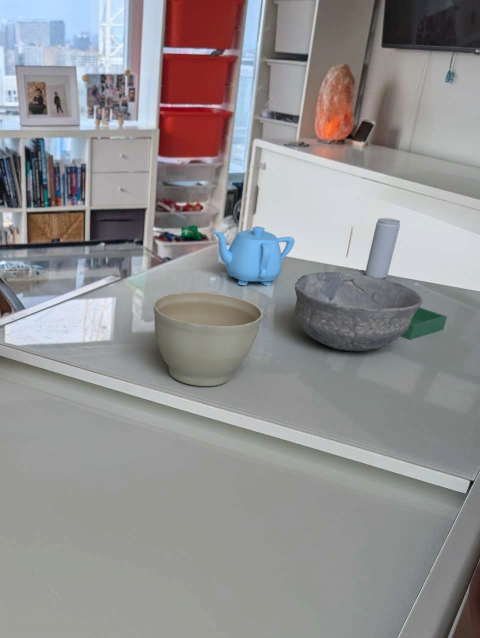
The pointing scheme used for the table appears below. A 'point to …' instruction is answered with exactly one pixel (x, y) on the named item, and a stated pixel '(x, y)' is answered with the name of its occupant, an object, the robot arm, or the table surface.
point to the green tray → (424, 323)
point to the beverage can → (382, 248)
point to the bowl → (353, 309)
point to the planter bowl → (205, 335)
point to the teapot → (254, 255)
